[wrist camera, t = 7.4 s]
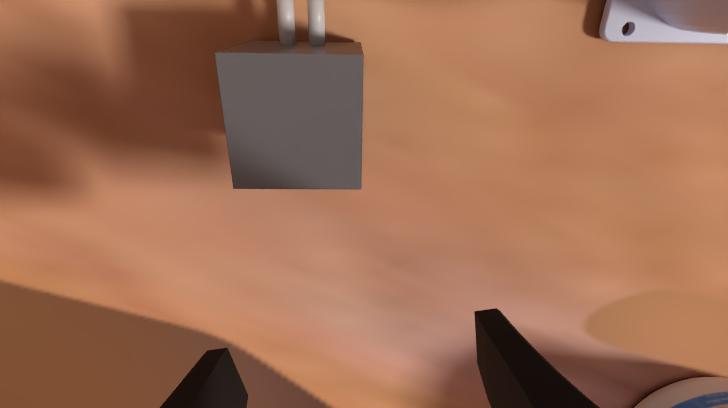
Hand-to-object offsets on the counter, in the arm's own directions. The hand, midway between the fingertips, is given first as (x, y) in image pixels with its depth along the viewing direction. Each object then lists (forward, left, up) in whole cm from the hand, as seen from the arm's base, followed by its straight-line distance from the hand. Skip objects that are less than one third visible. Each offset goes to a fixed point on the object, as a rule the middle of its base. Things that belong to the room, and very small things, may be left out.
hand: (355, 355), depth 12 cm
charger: (+2, -7, -9) cm, 12 cm away
